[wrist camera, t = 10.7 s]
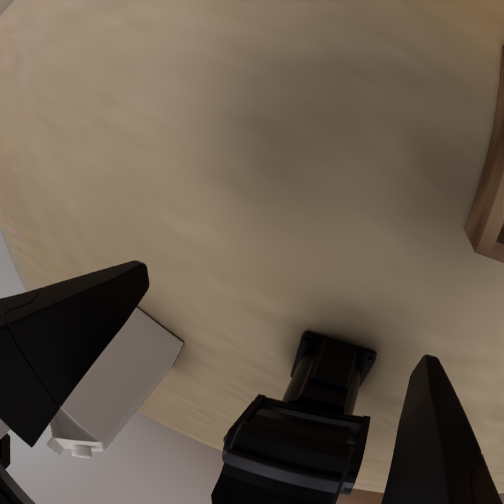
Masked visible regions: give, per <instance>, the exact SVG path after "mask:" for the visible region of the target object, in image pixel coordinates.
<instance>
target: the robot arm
mask: <svg viewBox="0 0 504 504" xmlns="http://www.w3.org/2000/svg"><path fill="white" fill-rule="evenodd" d="M148 288H149V277H148V271H147V266H146V264H144V263H142V262H139V261H136V260H134V261H131V262H127V263H124V264H120V265H117V266H113V267H110V268H106V269H103V270H99V271H96V272H92V273H89V274H86V275H82V276H79V277H75V278H72V279H69V280H65V281H62V282H59V283H55V284H52V285H49V286H45V287H44V288H43V287H42V288H39V289H35V290H32V291H29V292H25V293H22V294H18V295H14V296H10V297H6V298H1V299H0V504H35V503H34V502H33V501H32V500H31V499H30V498H29V496H27V494H26V493H25V492H24V491H23V490H22V489H21V488H20V487H19V486H18V484H17V483H16V482H15V481H14V480H13V478H12V477H11V476H10V475H9V474H8V472H7V471H6V470H5V469H6V468H7V467H8V466H9V465H10V436H9V435H8V433H7V432H8V431H9V430H10V429H11V430H12V431H13V432H14V433H16V434H17V435H18V436H19V437H20V438H21V439H22V440H23V441H24V442H26V443H27V444H28V445H29V446H30V447H33V446H34V445H35V443H36V442H37V440H38V439H39V438H40V436H41V435H42V433H43V431H44V430H45V429H46V427H47V426H48V425H49V423H50V422H51V420H52V419H53V418H54V416H55V415H56V413H57V412H58V411H59V409H60V407H61V406H62V405H63V404H64V402H65V401H66V400H67V398H68V397H69V395H70V394H71V393H72V391H73V390H74V389H75V387H76V386H77V385H78V383H79V382H80V381H81V379H82V378H83V377H84V375H85V374H86V373H87V372H88V370H89V369H90V368H91V366H92V365H93V364H94V362H95V361H96V360H97V359H98V357H99V356H100V355H101V353H102V352H103V351H104V350H105V348H106V347H107V346H108V345H109V343H110V342H111V341H112V340H113V338H114V337H115V336H116V335H117V333H118V332H119V331H120V330H121V328H122V327H123V326H124V324H125V323H126V322H127V320H128V319H129V317H130V316H131V314H132V313H133V311H134V310H135V308H136V307H137V305H138V304H139V302H140V301H141V299H142V298H143V296H144V295H145V293H146V292H147V290H148ZM307 337H309V338H307ZM370 356H372V357H370ZM376 356H377V354H376V352H375V351H372V350H369V349H365V348H362V347H358V346H355V345H352V344H348V343H345V342H341V341H338V340H335V339H332V338H328V337H325V336H322V335H319V334H315V333H312V332H308V331H306V332H304V333H303V335H302V337H301V341H300V344H299V348H298V351H297V355H296V359H295V362H294V366H293V369H292V372H291V378H292V379H291V381H290V384H289V386H288V388H287V390H286V393H285V395H284V397H283V399H282V401H280V400H276V399H272V398H268V397H266V396H264V395H261V394H259V395H258V396H257V397H256V398H255V400H254V401H252V402H251V404H250V405H249V406H248V407H247V409H246V410H245V411H244V412H243V414H242V415H241V416H240V417H239V418H238V420H237V421H236V422H235V423H234V424H233V426H232V427H231V428H230V429H229V431H228V433H227V434H226V435H225V437H224V440H223V441H224V448H223V454H222V456H223V457H222V459H223V462H224V465H223V468H222V471H221V474H220V477H219V479H218V481H217V483H216V485H215V488H214V490H213V492H212V495H211V498H212V504H336V501H337V498H338V496H339V494H341V495H347V496H349V495H350V493H351V491H352V489H353V486H354V484H355V481H356V478H357V475H358V472H359V469H360V466H361V462H362V459H363V454H364V450H365V445H366V440H367V435H368V429H369V424H370V418H371V417H370V416H363V417H362V416H355V415H353V411H354V407H355V403H356V399H357V395H358V390H359V388H360V386H361V384H362V383H363V381H364V379H365V378H366V376H367V374H368V372H369V371H370V369H371V367H372V365H373V364H374V362H375V360H376ZM381 504H503V503H502V501H501V499H500V496H499V494H498V492H497V489H496V487H495V485H494V482H493V480H492V478H491V475H490V472H489V470H488V467H487V465H486V462H485V459H484V457H483V455H482V454H481V449H480V447H479V444H478V442H477V439H476V437H475V435H474V432H473V430H472V428H471V425H470V423H469V421H468V418H467V416H466V414H465V412H464V410H463V407H462V405H461V403H460V401H459V399H458V397H457V395H456V393H455V391H454V389H453V386H452V384H451V382H450V380H449V378H448V376H447V374H446V373H445V371H444V369H443V367H442V365H441V363H440V361H439V359H438V358H437V357H435V356H431V355H424V356H423V357H422V358H421V360H420V361H419V363H418V364H417V366H416V367H415V369H414V370H413V372H412V374H411V376H410V380H409V384H408V389H407V393H406V397H405V402H404V406H403V410H402V413H401V417H400V421H399V426H398V431H397V437H396V442H395V448H394V453H393V458H392V463H391V467H390V472H389V476H388V480H387V484H386V488H385V492H384V496H383V500H382V503H381Z"/></svg>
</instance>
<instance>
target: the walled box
mask: <svg viewBox="0 0 504 504" xmlns="http://www.w3.org/2000/svg"><path fill="white" fill-rule="evenodd" d="M503 222H504V45H503V47H502V65H501V77H500V86H499V94H498V102H497V108H496V115H495V120H494V126H493V131H492V136H491V141H490V145H489V150H488V154H487V158H486V162H485V166H484V170H483V174H482V178H481V181H480V185H479V188H478V191H477V195H476V198H475V201H474V204H473V207H472V210H471V213H470V216H469V219H468V222H467V225H466V227H465V232H466V234H467V236H468V238H469V240H470V242H471V244H472V247H473V249H474V251H475V253H478V254H481V255H483V256H486V257H489V258H492V259H495V260H497V261H500V262H503V263H504V228H501V227H502V225H503Z"/></svg>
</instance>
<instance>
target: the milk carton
mask: <svg viewBox="0 0 504 504" xmlns="http://www.w3.org/2000/svg"><path fill="white" fill-rule="evenodd" d="M182 346H183V342H181V341H180V340H179V339H177V338H176V337H175V336H173V335H172V334H171V333H169V332H168V331H167V330H165V329H164V328H163V327H161V326H160V325H159V324H158V323H156V322H155V321H154V320H152V319H151V318H150V317H149V316H147V315H146V314H145V313H143V312H142V311H141V310H140V309H138V308H137V307H136V308H135V310H134V311H133V313H132V314H131V316H130V317H129V319H128V320H127V322H126V323H125V324H124V326H123V327H122V328H121V330H120V331H119V332H118V333H117V335H116V336H115V337H114V338H113V340H112V341H111V342H110V343H109V345H108V346H107V347H106V348H105V350H104V351H103V352H102V353H101V355H100V356H99V357H98V359H97V360H96V361H95V362H94V364H93V365H92V366H91V368H90V369H89V370H88V372H87V373H86V374H85V375H84V377H83V378H82V379H81V381H80V382H79V383H78V385H77V386H76V387H75V389H74V390H73V391H72V393H71V394H70V395H69V397H68V398H67V400H66V401H65V402H64V404H63V405H62V406H61V407H60V409H59V411H58V412H57V413H56V415H55V416H54V418H53V419H52V420H51V422H50V426H51V431H52V438H51V439H50V440H49V441H48V442H47V443H46V444H47V445H48V446H49V447H50V448H52V449H53V450H54V451H55V452H57V453H58V454H60V453H61V452H62V451H63V450H64V449H72V455H73V456H75V457H80V458H92V452H91V451H101V452H102V451H104V450H105V449H106V448H107V446H108V445H109V444H110V443H111V442H112V441H113V439H114V438H115V437H116V436H117V434H118V433H119V432H120V431H121V430H122V428H123V427H124V426H125V425H126V423H127V422H128V421H129V420H130V418H131V417H132V416H133V415H134V414H135V412H136V411H137V410H138V409H139V408H140V406H141V405H142V404H143V403H144V401H145V400H146V399H147V398H148V396H149V395H150V394H151V393H152V392H153V390H154V389H155V388H156V387H157V385H158V384H159V383H160V382H161V380H162V379H163V378H164V377H165V375H166V374H167V373H168V372H169V371H170V369H171V368H172V367H173V365H174V362H175V360H176V358H177V356H178V354H179V352H180V350H181V348H182Z"/></svg>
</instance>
